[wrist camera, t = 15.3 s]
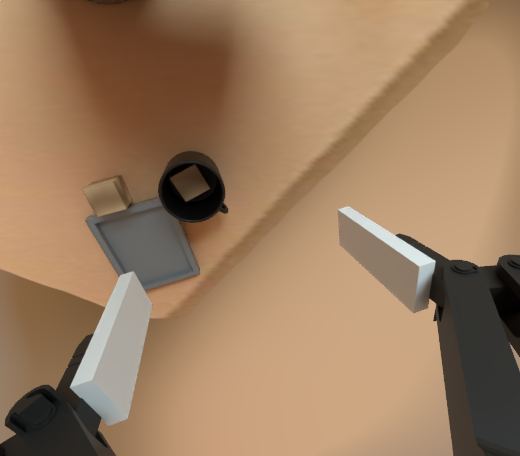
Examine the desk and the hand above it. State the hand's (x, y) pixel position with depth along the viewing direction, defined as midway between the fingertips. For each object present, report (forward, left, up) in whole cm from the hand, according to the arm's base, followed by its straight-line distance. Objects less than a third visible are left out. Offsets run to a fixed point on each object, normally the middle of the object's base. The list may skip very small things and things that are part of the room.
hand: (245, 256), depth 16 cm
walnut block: (+1, -4, -31) cm, 32 cm away
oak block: (0, -18, -32) cm, 36 cm away
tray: (+12, -16, -32) cm, 37 cm away
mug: (+3, -3, -32) cm, 32 cm away
